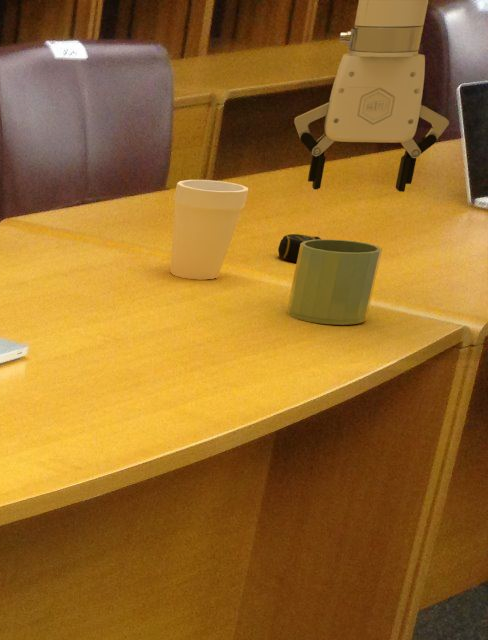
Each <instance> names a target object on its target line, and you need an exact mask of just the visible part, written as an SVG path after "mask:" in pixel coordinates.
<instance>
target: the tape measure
mask: <svg viewBox="0 0 488 640" xmlns="http://www.w3.org/2000/svg"><path fill="white" fill-rule="evenodd" d="M319 239H322V238H321V237H319V236H311V235H306V234H299V233H290V234H286V235H284V236H283V237H282V239H280V242H279V245H278V250H277V252H278V256H279V258H281V259H283V260H286V261H287V262H288V261H289V262H291V263H292V262H293V263H297V258H298V253H299V249H300V244H301V243H302V242H303V241H308V240H319Z"/></svg>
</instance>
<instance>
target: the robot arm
mask: <svg viewBox="0 0 488 640" xmlns="http://www.w3.org/2000/svg"><path fill="white" fill-rule="evenodd" d="M428 4H429V0H358V4H357V9H356V13H355V15H356V16H355V20H354V25H353V27H352V28H350V30H347V31H340V32H339V37H338V42H337V44H338V45H344V46H347V47H348V48H349V53H344V54H343V55H342V57H341V60H340V62H339V65H338V67H337V72H336V75H335V77H334V81H333V84H332V88H331V92H330V96H329V99H328V102H326V103H324V104H322V105H319V106H317V107H315V108H313V109H310V110H309V111H306V112H304V113H302V114H299V115H297V116H296V117H294V120H293V123H294V125H295V129H296V131H297V134H298V137H299V139H300V141H301V143H302V144H303V145H304V147H306V149H307V150H308V151H309V152H310V153H311V160H310V166H309V171H308V177H307V182H312V184H311V185H312V189H313V190H319V189H321V185H322V181H323V174H324V169H325V163H326V156H325V151H326V150H327V149H328V148H329V147H330V146H332V145H333V144H334V143H335V142H341V143H342V142H343V143H391V144H392V143H393V144H394V143H400V144H401V145H402V147H403V148H404V150H405V151H404V154H403V155H402V156H401V157H400V162H399V167H398V171H397V177H396V181H395V182H396V183H395V189H396V190H397V191H398V192H401V193H402V192H404V193H405V190H406V185H411V184H412V182H413V179H414V178H413V176H414V173H415V167H416V162H417V158H419V157H420V156H421V155H422V154H423V153H424V152H426V151H427V150H428V149H429V148H431V147H432V146H434V145H435V144H436V142H437V140H438V139H439V138H440V137H441V136H442V134H444V132H445V131H446V129H447V127H448V126H449V125H450V121H449V119H447V118H446V117H444V116H442V115H441V114H440V113H438V112H435V111H434V110H432V109H430V108H428V107H427V106H426V105H423V104H422V99H423V90H424V85H425V84H424V83H425V74H426V73H425V71H426V69H425V68H426V57H425V56H426V55H425V54H421V53H419V50H420V44H421V40H422V36H423V35H422V34H423V30H424V25H425V19H426V15H427V9H428ZM324 117H325V119H324V127H323V130H324V133H323V135H322V136H320V137H319V138H318V139H317V140H316V139H315V137H314V136H313V135H312V134H311V132H310V129H309V125H310V123H311V124H312V123H313V122H315V121H317V120H320V119H321V118H324ZM419 119H422V120H425V121H426V122H428V123H430V124H431V127H430V129H429V131H428V132H427V134H424V136H423V137H422V138H420V139H419V140H418V141H415V139H414V137H415V135H416V132H417V129H418V123H419Z"/></svg>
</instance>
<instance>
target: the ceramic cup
mask: <svg viewBox="0 0 488 640" xmlns="http://www.w3.org/2000/svg"><path fill="white" fill-rule="evenodd" d="M382 252H383V249H382V248H381V247H380V246H378V245H377V244H376V245H375V244H372V243H368V242H362V241H357V240H346V239H331V238H329V239H328V238H327V239H325V238H321V239H319V240H308V241H303V242H302V243H301V244H300V249H299V253H298V258H297V262H295V263H296V264H295V268H294V274H293V280H292V283H291V289H290V294H289V299H288V304H287V312H286V313H287V315H288V316H290V317H291V318H294V319H296V320H299V321H303V322H307V323H313V324H322V325H334V326H346V325H347V326H348V325H357V324H361V323H364V322H365V321H366V320H367V316H368V314H369V311H370V310H369V308H370V305H371V300H372V295H373V291H374V286H375V283H376V277H377V275H378V269H379V265H380V261H381V256H382Z"/></svg>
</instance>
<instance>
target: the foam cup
mask: <svg viewBox="0 0 488 640" xmlns="http://www.w3.org/2000/svg"><path fill="white" fill-rule="evenodd" d="M248 194H249V187H247V186H245V185H243V184H239V183H236V182H235V183H234V182H228V181H221V180H212V179H186V180H180V181H178V182H177V183H176V188H175V191H174V196H173V201H174V209H173V210H174V213H173V226H172V241H171V253H170V254H171V255H170V269H169V273H170V272H171V273H172V274H173V275H172V274H171V273H170V274H171V275H172V276H174V275H175V276H174V277H177V276H179V277H184V278H189V279H188V280H190V279H212V278H213V279H214V278H216V279H218V278H219V275H220V273H221V270H222V267H223V265H224V262H225V259H226V256H227V253H228V250H229V248H230V244H231V242H232V239H233V237H234V234H235V231H236V228H237V226H238V223H239V220H240V217H241V214H242V211H243V209H244V208H245V206H246V203H247V198H248ZM179 277H178V278H179ZM184 278H183V279H184ZM214 280H215V279H214Z"/></svg>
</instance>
